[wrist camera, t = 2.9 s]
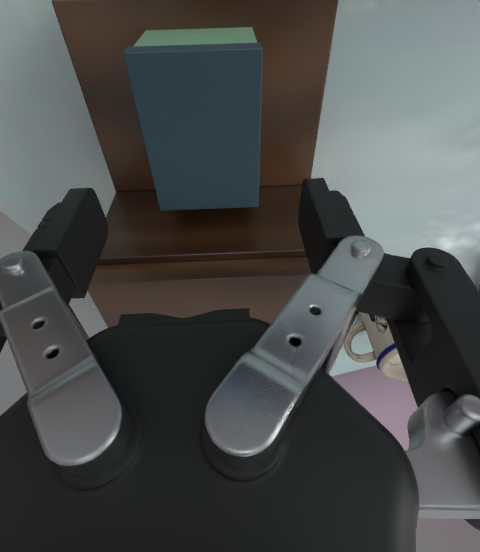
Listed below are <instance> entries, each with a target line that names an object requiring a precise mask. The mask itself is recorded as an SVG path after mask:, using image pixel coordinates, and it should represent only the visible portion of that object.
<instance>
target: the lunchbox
mask: <svg viewBox="0 0 480 552" xmlns="http://www.w3.org/2000/svg"><path fill="white" fill-rule="evenodd" d="M123 56H124V61H125V65H126V69H127V73H128V77H129V82H130V86H131V90H132V94H133V98H134V103H135V107H136V111H137V115H138V119H139V124H140V128H141V132H142V136H143V141H144V145H145V149H146V153H147V157H148V162H149V166H150V170H151V174H152V178H153V183H154V187H155V191H156V195H157V199H158V204H159V208H160V210H161V211H167V210H193V209H220V208H246V207H258V206H259V173H260V138H261V102H262V67H263V48H262V45H261V43H257V40H256V37H255V34H254V31H253V28H252V27H241V28H208V29H175V30H146V31H145V32H144V33H143V35H142V36H141V37H140V38H139V40H138V41H137V42H136V43H135V45H134V46H132V47H127V48H126V49H125V51H124V52H123Z"/></svg>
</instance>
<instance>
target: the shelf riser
mask: <svg viewBox="0 0 480 552" xmlns="http://www.w3.org/2000/svg"><path fill="white" fill-rule="evenodd" d="M52 4H53V7H54V10H55V13H56V16H57V19H58V22H59V25H60V28H61V31H62V34H63V37H64V40H65V42H66V45H67V48H68V51H69V54H70V57H71V60H72V63H73V66H74V69H75V72H76V75H77V78H78V81H79V84H80V87H81V90H82V93H83V95H84V98H85V101H86V104H87V107H88V110H89V113H90V116H91V119H92V122H93V125H94V128H95V131H96V134H97V137H98V140H99V143H100V145H101V148H102V151H103V154H104V157H105V160H106V163H107V166H108V169H109V172H110V175H111V178H112V181H113V184H114V187H115V190H116V191H117V192H116V194H115V196H114V199H113V201H112V204H111V206H110V209H109V211H108V213H107V216H106V220H107V224H108V237H107V240H106V243H105V245H104V248H103V251H102V253H101V256H100V259H99V261H98V264H97V266H96V269H95V272H94V274H93V277H92V280H91V282H90V285H89V287H88V292H89V294H90V296H91V298H92V299H93V301H94V303H95V305H96V306H97V308H98V310H99V312H100V314H101V316H102V317H103V319H104V321H105V323H106V325H107V326H108V328H110V327H112V326H115V325H118V323H119V319H120V315H121V314H142V313H155V314H161V315H167V316H173V317H179V318H188V317H192V316H196V315H200V314H203V313H207V312H211V311H215V310H223V309H244V308H249V312H250V318H255V319H259V320H262V321H265V322H267V323H270V324H272V322H273V321H274V320H275V318H276V317H277V316H278V314H279V313H280V312H281V310H282V309H283V308H284V306H285V305H286V304H287V302H288V301H289V300H290V298H291V297H292V296H293V294H294V293H295V292H296V290H297V289H298V288H299V286H300V285H301V284H302V282H303V281H304V280H305V278H306V277H307V276H308V275H309V274H310V273H311V270H310V267H309V263H308V259H307V256H306V252H305V249H304V245H303V241H302V238H301V234H300V230H299V225H298V212H299V204H300V196H301V189H302V182H303V180H304V179H310V178H311V172H312V166H313V159H314V153H315V146H316V140H317V133H318V127H319V120H320V114H321V108H322V101H323V95H324V88H325V82H326V75H327V69H328V63H329V56H330V50H331V43H332V37H333V30H334V24H335V18H336V11H337V5H338V0H52ZM241 27H252V28H253V31H254V34H255V37H256V40H257V43H261V45H262V48H263V67H262V102H261V138H260V173H259V206H258V207H246V208H220V209H193V210H167V211H161V210H160V208H159V204H158V199H157V195H156V191H155V187H154V183H153V178H152V174H151V170H150V166H149V162H148V157H147V153H146V149H145V145H144V141H143V136H142V132H141V128H140V124H139V119H138V115H137V111H136V107H135V103H134V98H133V94H132V90H131V86H130V82H129V77H128V73H127V69H126V65H125V61H124V56H123V52H124V51H125V49H126V48H127V47H132V46H134V45H135V43H136V42H137V41H138V40H139V38H140V37H141V36H142V35H143V33H144V32H145V31H146V30H175V29H208V28H241Z"/></svg>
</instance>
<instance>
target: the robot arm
mask: <svg viewBox="0 0 480 552" xmlns="http://www.w3.org/2000/svg"><path fill="white" fill-rule="evenodd" d="M353 214H354V213H353V211H352V209H351V208H350V205H349V203H348V201H347V199H346V197H344V196H343V195H342V194H341V193H339V192H338V191H329V189H328V187H327V184H326V182H325V180H324V178H315V179H304V180H303V182H302V189H301V196H300V204H299V212H298V225H299V230H300V234H301V238H302V241H303V245H304V249H305V252H306V256H307V259H308V263H309V267H310V270H311V273H310V274H309V275H308V276H307V277H306V278H305V280H304V281H303V282H302V284H301V285H300V286H299V288H298V289H297V290H296V292H295V293H294V294H293V296H292V297H291V298H290V300H289V301H288V302H287V304H286V305H285V306H284V308H283V309H282V310H281V312H280V313H279V314H278V316H277V317H276V318H275V320H274V321H273V322H272V324H270V323H267V322H265V321H262V320H259V319H255V318H250V312H249V308H244V309H223V310H215V311H211V312H207V313H203V314H200V315H196V316H192V317H188V318H179V317H173V316H167V315H161V314H155V313H142V314H121V315H120V319H119V323H118V325H115V326H112V327H110V328H107V329H105V330H103V331H101V332H99V333H97V334H95V335H94V336H92V337H91V338H89V337H88V336H87V334H86V332H85V330H84V329H83V327H82V325H81V324H80V322H79V320H78V318H77V317H76V315H75V313H74V312H73V310H72V308H71V307H70V305H69V302H70V300H71V298H85V295H86V293H87V290H88V287H89V285H90V282H91V280H92V277H93V274H94V272H95V269H96V266H97V264H98V261H99V259H100V256H101V253H102V251H103V248H104V245H105V243H106V240H107V237H108V224H107V220H106V218H105V215H104V213H103V210H102V208H101V205H100V203H99V200H98V198H97V195H96V193H95V191H94V190H93V189H92V188H77V189H70V190H69V191H68V193H67V194H66V196H65V198H64V199H63V201H62V202H60V203H57V204H56V205H55V206H53V207H52V208H51V209H49V210H48V211H47V213H46V214H45V216H44V218H43V219H42V221H41V222H40V224H39V225H38V229H36V230H35V232H34V233H33V235H32V236H31V238H30V239H29V241H28V243H27V244H26V246H25V248H24V249H23V251H19V252H15V253H12V254H9V255H7V256H5V257H3V258H1V259H0V352H1V350H2V348H3V346H4V344H5V342H6V339H7V340H8V342H9V345H10V348H11V350H12V353H13V356H14V358H15V361H16V364H17V367H18V369H19V372H20V374H21V377H22V380H23V382H24V385H25V388H26V390H27V393H26V394H25V395H24V396H23V397H21V398H20V399H19V400H18V401H17V402H16V403H15V404H14V405H12V406H11V407H10V408H9V409H8V410H7V411H6V412H4V413H3V414H2V415H1V416H0V552H416V527H417V519H418V518H451V519H465V520H466V521H467V522H468V523H469V524H470V525H472V526H473V527H475V528H476V529H478V530H480V293H479V291H478V290H477V288H476V287H475V285H474V284H473V282H472V281H471V279H470V278H469V276H468V275H467V273H466V272H465V270H464V268H463V267H462V265H461V264H460V262H459V261H458V260H457V259H456V258H455V257H454V256H452V255H451V254H449V253H447V252H445V251H443V250H440V249H436V248H421V249H418V250H416V251H415V252H414V253H413V254H412V256H411V258H405V257H399V256H393V255H389V254H385V253H384V252H383V249H382V247H381V246H380V245H379V244H378V243H377V242H376V241H374V240H372V239H370V238H367V237H365V236H364V234H363V231H362V229H361V227H360V225H359V223H358V221H357V219H356V217H355V215H353ZM360 312H361V313H366V314H371V315H375V316H380V317H384V318H386V321H387V324H388V326H389V329H390V332H391V335H392V337H393V340H394V343H395V346H396V348H397V351H398V354H399V357H400V359H401V362H402V365H403V368H404V370H405V373H406V376H407V379H408V381H409V384H410V387H411V390H412V392H413V395H414V398H415V401H416V403H417V406H418V409H417V410H416V411H415V412H414V413H413V414H412V415H411V416H410V418H409V421H408V433H409V439H410V440H409V443H410V444H409V449H408V451H404V449H403V448H402V446H401V445H400V443H399V442H398V441H397V440H396V438H395V437H394V436H393V435H392V434H391V433H390V432H389V431H388V430H387V429H386V428H385V427H384V426H383V425H382V424H381V423H380V422H379V421H378V420H377V419H376V418H375V417H374V416H372V415H371V414H370V413H369V412H368V411H367V410H366V409H365V408H364V407H363V406H362V405H361V404H360V403H359V402H357V401H356V400H355V399H354V398H353V397H352V396H351V395H350V394H349V393H348V392H347V391H346V390H345V389H344V388H342V386H341V385H339V384H338V383H337V382H336V381H335V380H334V379H333V378H332V377H331V376H330V375H329V372H330V370H331V368H332V366H333V364H334V362H335V360H336V358H337V356H338V354H339V351H340V349H341V347H342V346H343V344H344V342H345V340H346V338H347V336H348V335H349V333H350V331H351V329H352V327H353V325H354V323H355V322H356V320H357V318H358V316H359V314H360Z"/></svg>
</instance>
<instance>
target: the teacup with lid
mask: <svg viewBox="0 0 480 552" xmlns="http://www.w3.org/2000/svg"><path fill="white" fill-rule="evenodd" d="M360 315H361V317H362V320H363V322H361V323H358V324H356V325H354V326H353V327H352V329H351V331H350V333H349V335H348V336H347V338H346V340H345V342H344V346H345V350H346V353H347V354H348V356H349V357H350V358H351V359H352V360H354V361H357V362H369V361H373V360H376V359H377V362H376V364H377V367H378V369H379V370H380V371H381V373H382V374H384V375H385V376H387V377H389V378H392V379H396V380H408V379H407V376H406V373H405V370H404V368H403V365H402V362H401V359H400V357H399V354H398V351H397V348H396V346H395V343H394V340H393V337H392V335H391V332H390V329H389V326H388V324H387V321H386V318H384V317H380V316H375V315H371V314H366V313H361V312H360ZM365 329H366V331H367V334H368V337H369V339H370V342H371V345H372V348H373V350H374V351H373V352H370V353H367V354H362V355H359V354H355V353H353V352H352V350H351V342H352V339H353V337H354V336H355V335H356V334H357V333H358V332H360V331H363V330H365Z"/></svg>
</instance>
